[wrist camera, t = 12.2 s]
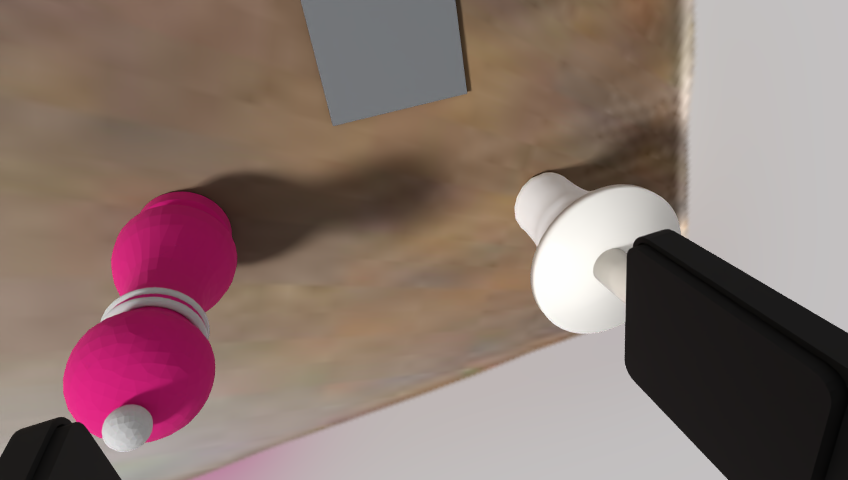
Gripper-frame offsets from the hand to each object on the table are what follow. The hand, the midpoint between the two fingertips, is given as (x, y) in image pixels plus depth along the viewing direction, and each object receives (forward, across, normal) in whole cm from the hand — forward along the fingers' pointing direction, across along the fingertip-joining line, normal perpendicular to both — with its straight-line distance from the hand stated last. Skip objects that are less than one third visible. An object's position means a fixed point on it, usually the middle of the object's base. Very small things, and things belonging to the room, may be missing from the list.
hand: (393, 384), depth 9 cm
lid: (+20, -17, +14) cm, 30 cm away
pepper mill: (+31, +10, +8) cm, 33 cm away
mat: (+30, -7, -3) cm, 31 cm away
